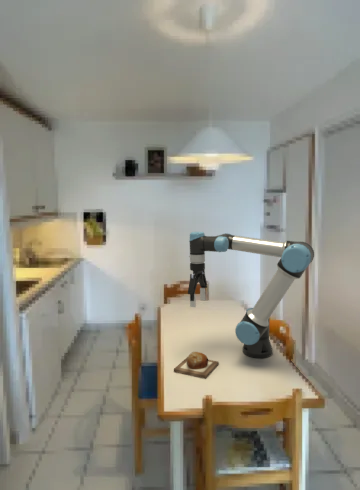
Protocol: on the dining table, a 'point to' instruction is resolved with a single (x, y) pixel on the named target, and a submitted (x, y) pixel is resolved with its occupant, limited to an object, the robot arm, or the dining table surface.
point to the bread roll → (197, 360)
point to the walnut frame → (199, 373)
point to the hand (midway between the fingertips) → (198, 303)
